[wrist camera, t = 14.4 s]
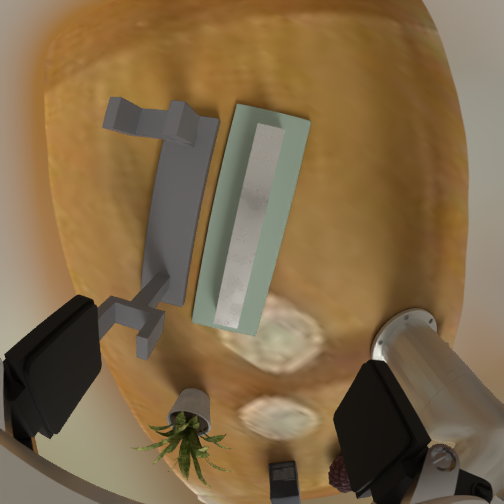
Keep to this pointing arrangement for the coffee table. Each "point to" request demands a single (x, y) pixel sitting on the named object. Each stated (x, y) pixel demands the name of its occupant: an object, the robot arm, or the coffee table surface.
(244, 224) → the steel rail
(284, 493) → the small box
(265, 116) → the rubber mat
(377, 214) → the coffee table surface
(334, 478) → the pine cone
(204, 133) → the grey base with uprights
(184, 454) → the house plant
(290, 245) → the coffee table surface
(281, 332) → the coffee table surface
